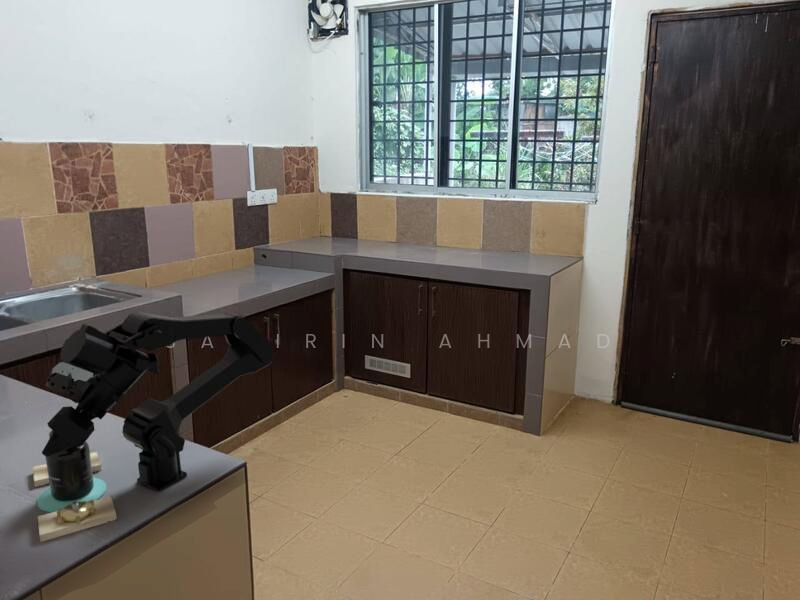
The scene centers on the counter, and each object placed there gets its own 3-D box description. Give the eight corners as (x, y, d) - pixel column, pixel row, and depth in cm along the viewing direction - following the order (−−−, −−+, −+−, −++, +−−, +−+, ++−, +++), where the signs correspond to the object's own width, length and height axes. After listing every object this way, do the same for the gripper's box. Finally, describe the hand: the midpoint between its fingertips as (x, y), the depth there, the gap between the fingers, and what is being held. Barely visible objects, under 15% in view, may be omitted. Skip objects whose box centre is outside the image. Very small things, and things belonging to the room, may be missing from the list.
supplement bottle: (45, 504, 105) (34, 441, 103) (59, 483, 112) (50, 423, 109) (88, 500, 107) (78, 437, 104) (99, 480, 113) (91, 420, 110)
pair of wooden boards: (33, 472, 116) (32, 467, 116) (97, 457, 122) (96, 451, 122) (40, 542, 96) (39, 535, 95) (116, 519, 101) (115, 513, 101)
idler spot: (35, 489, 111) (35, 488, 110) (102, 472, 116) (102, 471, 116) (38, 519, 102) (38, 518, 101) (110, 499, 107) (110, 498, 107)
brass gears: (49, 463, 117) (47, 448, 117) (81, 455, 120) (79, 441, 120) (59, 529, 97) (56, 512, 96) (97, 518, 100) (95, 502, 99)
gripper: (94, 333, 112) (38, 392, 113) (53, 367, 94) (-13, 438, 95) (143, 371, 115) (88, 429, 116) (113, 412, 97) (48, 480, 98)
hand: (55, 442), depth 106 cm, fingers open, 9 cm apart
